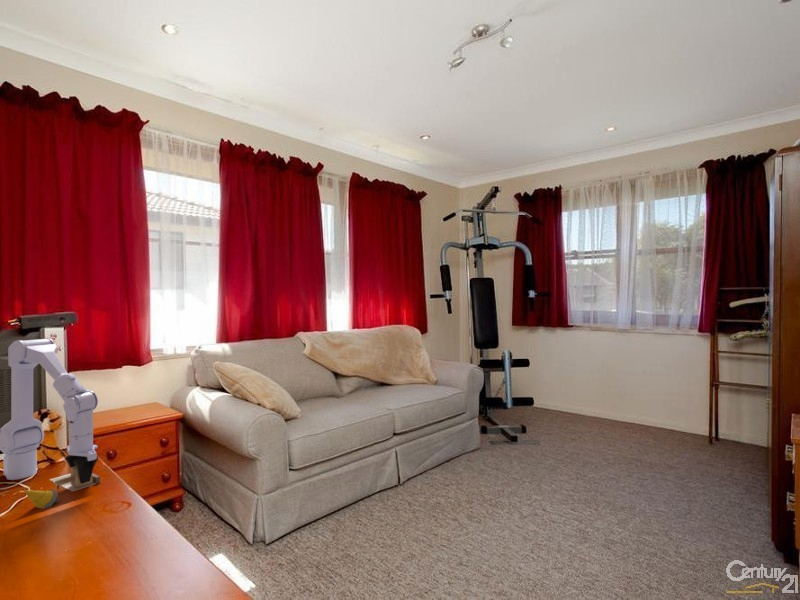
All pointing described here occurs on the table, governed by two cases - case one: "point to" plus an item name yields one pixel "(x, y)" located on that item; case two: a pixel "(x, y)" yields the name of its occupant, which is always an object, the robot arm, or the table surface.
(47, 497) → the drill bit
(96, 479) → the board
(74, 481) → the block
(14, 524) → the table surface
